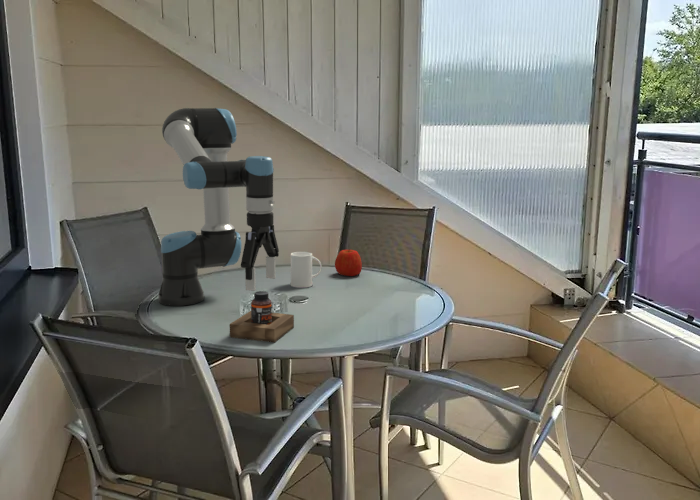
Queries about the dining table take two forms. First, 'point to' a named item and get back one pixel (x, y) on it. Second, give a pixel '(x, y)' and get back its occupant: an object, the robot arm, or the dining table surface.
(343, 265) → the apple
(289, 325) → the holder block
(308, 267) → the mug
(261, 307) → the supplement bottle
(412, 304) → the dining table surface
